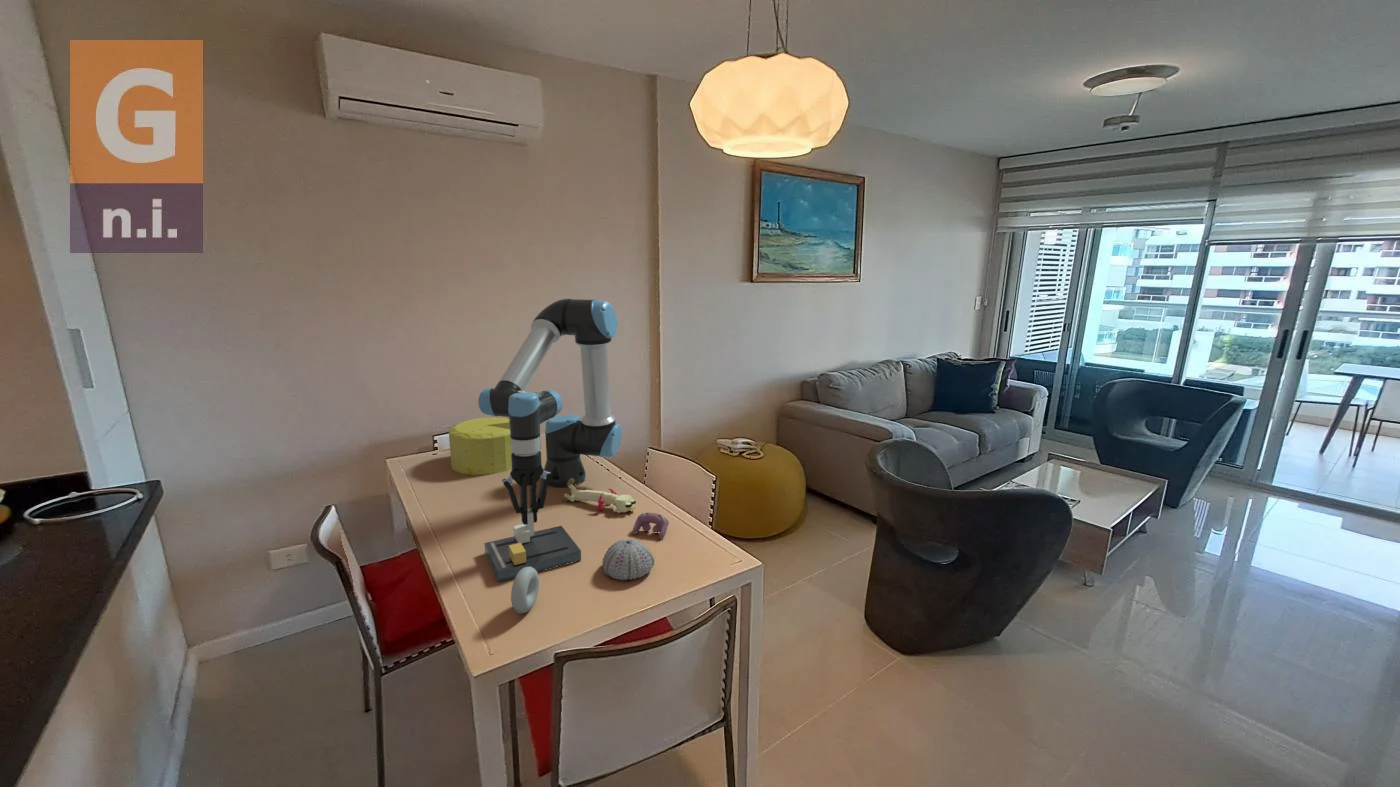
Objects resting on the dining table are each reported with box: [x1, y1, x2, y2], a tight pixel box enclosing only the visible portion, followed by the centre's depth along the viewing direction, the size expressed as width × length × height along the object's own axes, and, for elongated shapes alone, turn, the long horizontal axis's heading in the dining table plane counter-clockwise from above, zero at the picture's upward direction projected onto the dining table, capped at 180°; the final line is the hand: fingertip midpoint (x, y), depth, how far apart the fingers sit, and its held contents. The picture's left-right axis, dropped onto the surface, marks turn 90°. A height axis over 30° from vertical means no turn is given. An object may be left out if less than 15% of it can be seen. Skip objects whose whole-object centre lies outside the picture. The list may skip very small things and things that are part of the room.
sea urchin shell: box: [601, 538, 656, 581], centre depth 143 cm, size 13×14×8 cm
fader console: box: [484, 525, 582, 583], centre depth 149 cm, size 21×16×3 cm
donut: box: [510, 567, 540, 614], centre depth 126 cm, size 10×3×10 cm, turn 173°
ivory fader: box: [513, 523, 530, 544], centre depth 151 cm, size 3×5×3 cm, turn 32°
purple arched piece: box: [632, 512, 670, 539], centre depth 163 cm, size 10×5×7 cm, turn 72°
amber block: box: [509, 543, 526, 565], centre depth 141 cm, size 3×5×3 cm, turn 32°
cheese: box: [448, 416, 512, 476], centre depth 214 cm, size 26×26×15 cm
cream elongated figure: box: [562, 478, 638, 514], centre depth 180 cm, size 10×9×25 cm
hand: (530, 533), depth 153 cm, fingers closed
